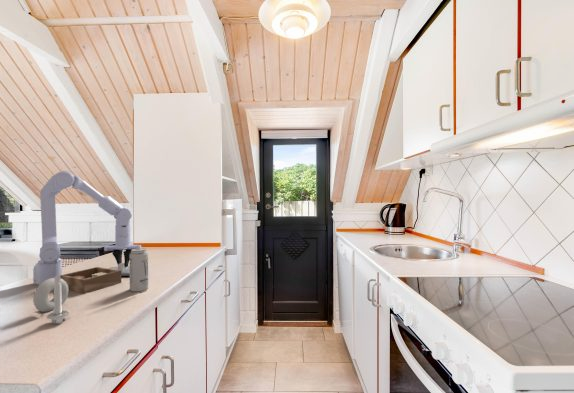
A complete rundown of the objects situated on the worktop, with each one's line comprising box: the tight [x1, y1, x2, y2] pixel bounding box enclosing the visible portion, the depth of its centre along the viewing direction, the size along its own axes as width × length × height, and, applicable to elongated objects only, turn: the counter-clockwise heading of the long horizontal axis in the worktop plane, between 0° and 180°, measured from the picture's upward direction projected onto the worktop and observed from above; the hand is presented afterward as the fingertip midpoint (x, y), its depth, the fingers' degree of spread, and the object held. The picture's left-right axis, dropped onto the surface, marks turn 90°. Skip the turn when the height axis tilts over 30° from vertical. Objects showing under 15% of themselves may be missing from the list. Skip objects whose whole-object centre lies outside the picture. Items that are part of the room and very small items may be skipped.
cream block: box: [92, 272, 107, 277], centre depth 118 cm, size 4×4×4 cm
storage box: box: [60, 266, 122, 294], centre depth 114 cm, size 14×14×6 cm
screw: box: [46, 275, 70, 325], centre depth 84 cm, size 13×5×5 cm
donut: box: [32, 278, 69, 313], centre depth 91 cm, size 10×3×10 cm, turn 168°
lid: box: [107, 261, 130, 277], centre depth 133 cm, size 15×15×4 cm
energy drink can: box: [129, 247, 149, 294], centre depth 110 cm, size 6×6×15 cm
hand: (123, 266), depth 133 cm, fingers closed on lid, 2 cm apart
